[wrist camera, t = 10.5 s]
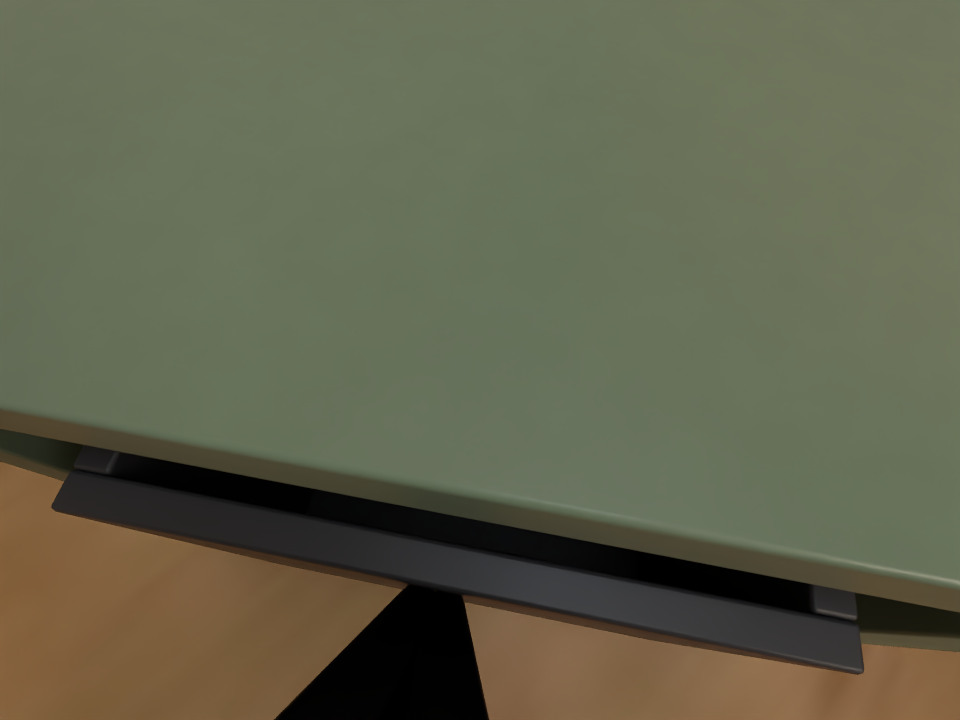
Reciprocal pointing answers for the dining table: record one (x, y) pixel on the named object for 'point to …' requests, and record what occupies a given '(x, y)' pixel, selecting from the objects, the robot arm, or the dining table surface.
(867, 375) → the green footstool
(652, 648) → the dining table surface
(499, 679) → the dining table surface
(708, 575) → the storage basket
